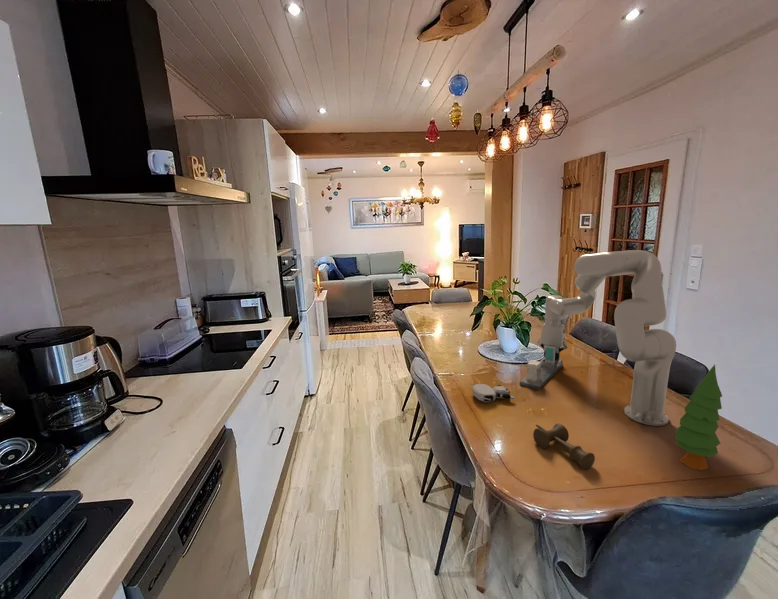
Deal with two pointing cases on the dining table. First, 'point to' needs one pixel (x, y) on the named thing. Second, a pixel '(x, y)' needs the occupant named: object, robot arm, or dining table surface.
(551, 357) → the cream block teal pad
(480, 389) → the robot toy
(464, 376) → the dining table surface
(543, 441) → the kendama
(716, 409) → the decorative tree
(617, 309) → the robot arm
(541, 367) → the rail
